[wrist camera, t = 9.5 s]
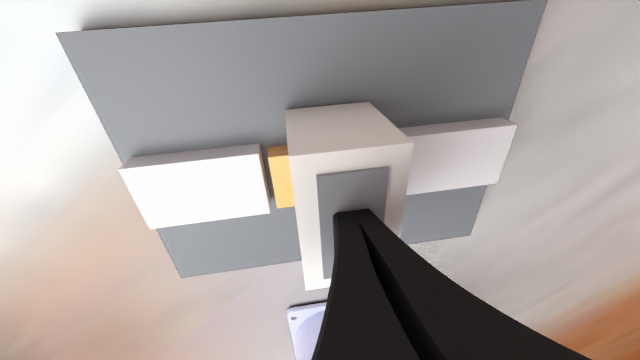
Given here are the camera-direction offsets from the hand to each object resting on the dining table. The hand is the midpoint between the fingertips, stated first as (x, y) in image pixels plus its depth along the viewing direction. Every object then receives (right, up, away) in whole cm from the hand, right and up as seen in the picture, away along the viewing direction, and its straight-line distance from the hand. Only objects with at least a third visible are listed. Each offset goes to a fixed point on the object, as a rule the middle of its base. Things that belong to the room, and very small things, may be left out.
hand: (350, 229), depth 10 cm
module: (-1, +3, +4) cm, 5 cm away
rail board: (-1, +3, +6) cm, 7 cm away
